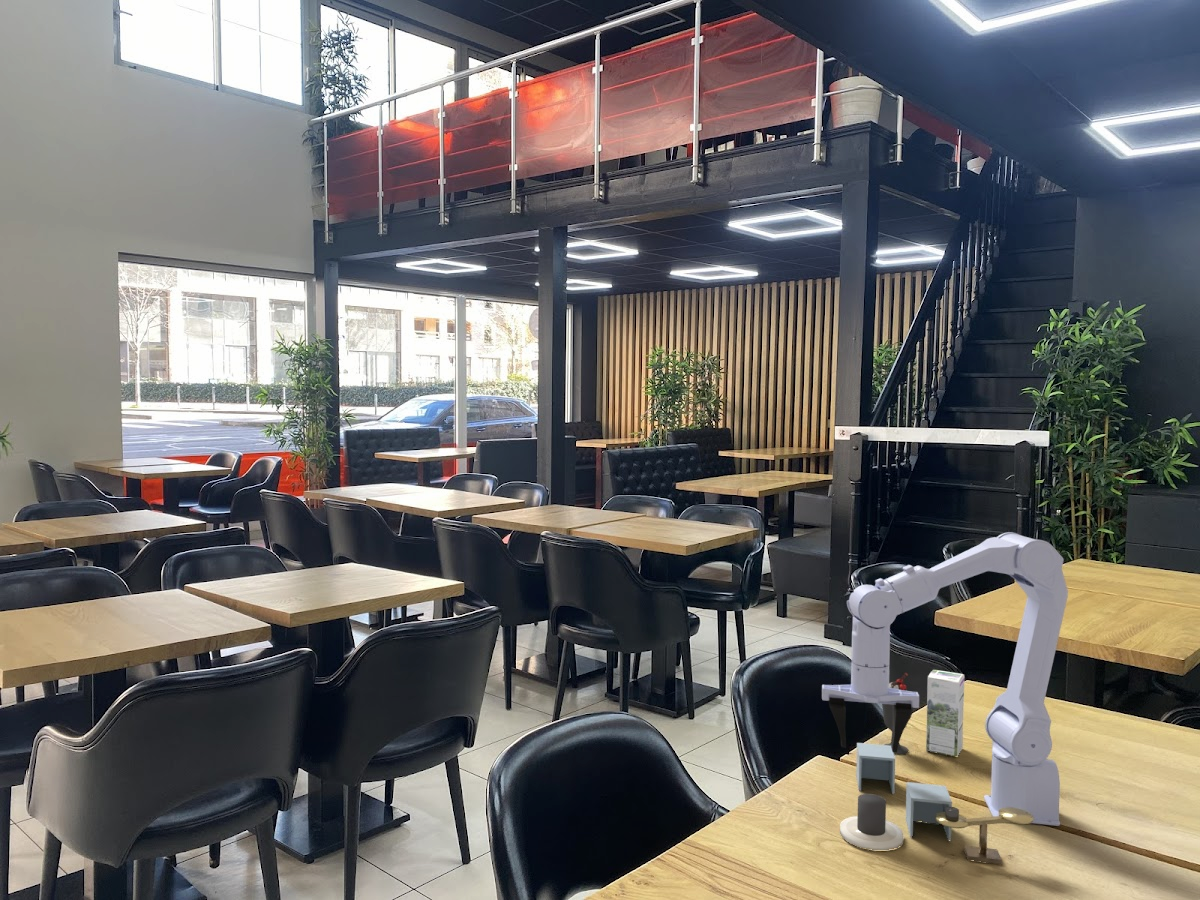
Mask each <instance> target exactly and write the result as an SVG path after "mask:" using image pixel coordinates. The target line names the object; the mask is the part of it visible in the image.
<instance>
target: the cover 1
mask: <svg viewBox="0 0 1200 900" xmlns="http://www.w3.org/2000/svg"><path fill="white" fill-rule="evenodd" d="M855 772H856V773H855V774H856V775H855V776H856V777H855V778H856V781H857V788H858V791H860V792H861V791H862V779H869V780H870V779H871V780H879V781H888V780H889V781H888V782H889V786H890V790H891V793H892V794H893V795H895V793H896V792H895V787H896V782H895V780H896V777H895V775H896V756H895V754H894V753H893V752H892V748H891V746H889V745H884V744H874V743H864V742H856V770H855Z"/></svg>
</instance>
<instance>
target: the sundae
mask: <svg viewBox="0 0 1200 900" xmlns="http://www.w3.org/2000/svg"><path fill="white" fill-rule="evenodd" d="M907 677H909V674H908V673H907V672H904V674H903V675H902V676H901V678H898V679H896V681H891V682H889V688H893V689H899V690H904V691H908V689H907V685H906V684H904V679H905V678H907ZM881 707H882V714H883V715H882V716H883V722H884V725H885V726H886V727H887V728H888V730H890V731H891V732H892V727H893V708H892V704H881ZM907 724H908V723H907ZM907 724H906V726H905V728H907ZM883 745H889V746H891V742H890V743H885V744H883ZM908 751H909V748H908V747H906V746H904V745H902V744H900V743H899V745H898V750H897V753H896V752H893V753H894V755H896V754H903V755H906V753H907V754H909V752H910V751H909V752H908Z"/></svg>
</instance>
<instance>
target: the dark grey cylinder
mask: <svg viewBox="0 0 1200 900" xmlns="http://www.w3.org/2000/svg"><path fill="white" fill-rule="evenodd" d="M886 808H887V800H886V799H885V798H884V797H882V795H878V794H873V793H862V794H860V795H859V794H858V797H857V816H858V819H857V828H858V830H859V831H860V832H862V833H864V834H867V835H872V836H880V835H883V834H884V833H885V825H886V820H887V817H886V815H887V812H886V811H887V809H886Z"/></svg>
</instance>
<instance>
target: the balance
mask: <svg viewBox="0 0 1200 900" xmlns="http://www.w3.org/2000/svg"><path fill="white" fill-rule="evenodd" d="M936 821H937V822H938V823H940V824H942V826H943V825H944V826H947V827H950V828H951V829H965V828H968V827H972V826H973V827H974V826H979V829H978V833H979V835H978V836H979V837H978V839H979V840H978V846H969V845H964V847H963V850H965V851H964V854H965V853H966V854H965V856H967V857H966V858H968V859H967V861H968V860H974V861H981V862H980V863H982V862H986V863H985V864H990V863H994V864H993V865H999V864H1001V865H1002V864H1003V859H1002V857H1001V855H1000V853H999V850H998V849H997V848H989V847H988V844H987V843H988V825H995V824H996V825H997V824H1008V823H1014V824H1018V825H1019V824H1020V825H1028V824H1032V823H1031V822H1033V816H1032V815H1031V814H1030V813H1029V812H1027V811H1025V810H1022V809H1018V808H1012V807H1004V808H1001V809H999V816H994V817H993V816H985V817H984V816H983V817H973V818H967V817H966V816H964V815H962V814H960V809H959V808H957V807H955V806H952V807H946V809H945V812H940V813H937V814H936ZM974 861H973V862H974ZM1001 865H1000V866H1001Z"/></svg>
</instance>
